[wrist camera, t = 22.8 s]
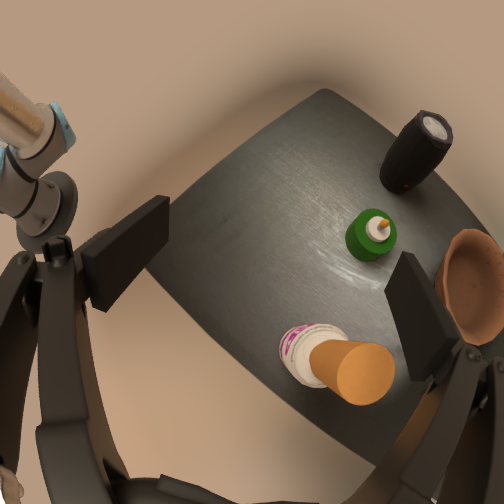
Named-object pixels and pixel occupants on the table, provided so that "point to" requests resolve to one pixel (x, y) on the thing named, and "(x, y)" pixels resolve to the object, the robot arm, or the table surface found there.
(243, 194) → the table surface
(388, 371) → the orange tall cylinder
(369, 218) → the candle
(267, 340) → the table surface
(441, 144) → the portable speaker
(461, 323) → the bowl
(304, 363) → the supplement can
